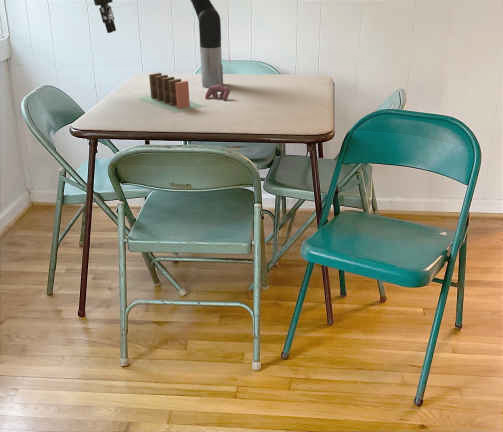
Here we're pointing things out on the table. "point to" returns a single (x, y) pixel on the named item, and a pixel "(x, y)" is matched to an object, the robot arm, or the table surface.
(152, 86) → the domino
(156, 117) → the table surface
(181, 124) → the table surface
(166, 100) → the domino
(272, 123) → the table surface
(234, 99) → the table surface
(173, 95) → the domino
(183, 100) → the domino
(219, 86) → the video game controller
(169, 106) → the felt mat
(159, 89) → the domino
